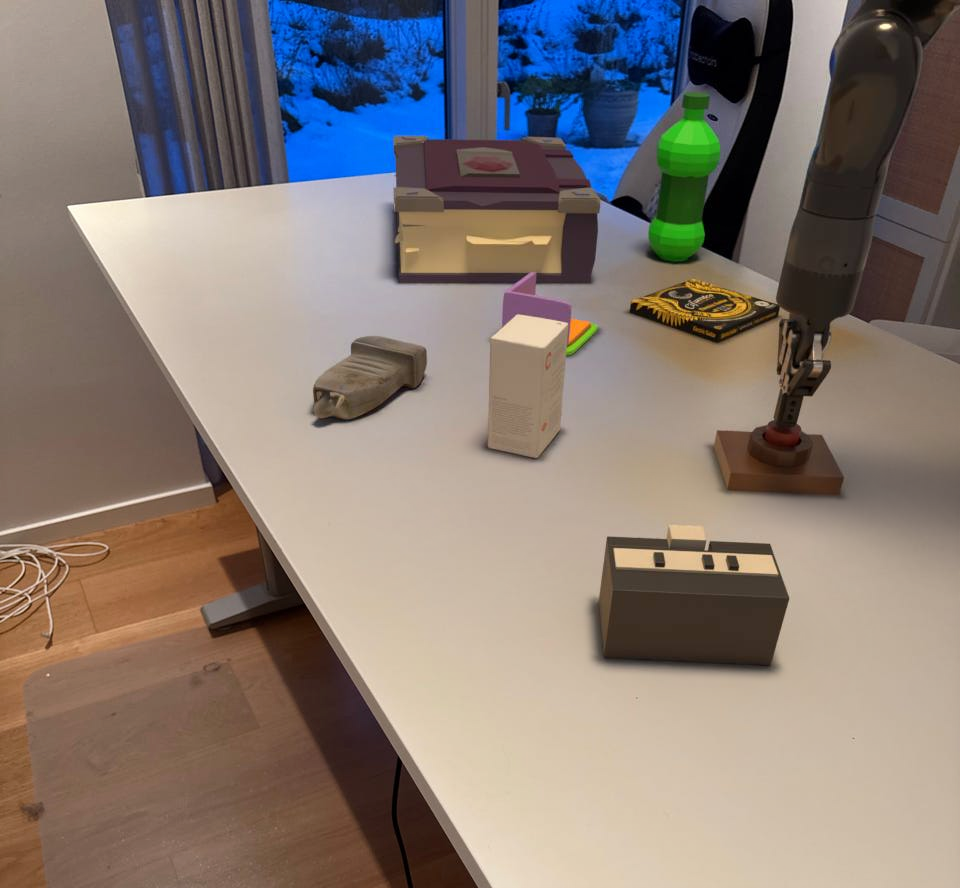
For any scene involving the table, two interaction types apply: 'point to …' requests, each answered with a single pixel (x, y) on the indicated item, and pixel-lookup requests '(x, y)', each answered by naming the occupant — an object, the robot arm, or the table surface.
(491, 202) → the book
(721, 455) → the brown base plate
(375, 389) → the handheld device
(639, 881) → the table surface
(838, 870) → the table surface
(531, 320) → the small box
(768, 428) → the bell button
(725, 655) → the toy piano
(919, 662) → the table surface
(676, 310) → the guitar strings
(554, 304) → the toy room diorama
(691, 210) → the plastic bottle
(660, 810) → the table surface
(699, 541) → the white key
